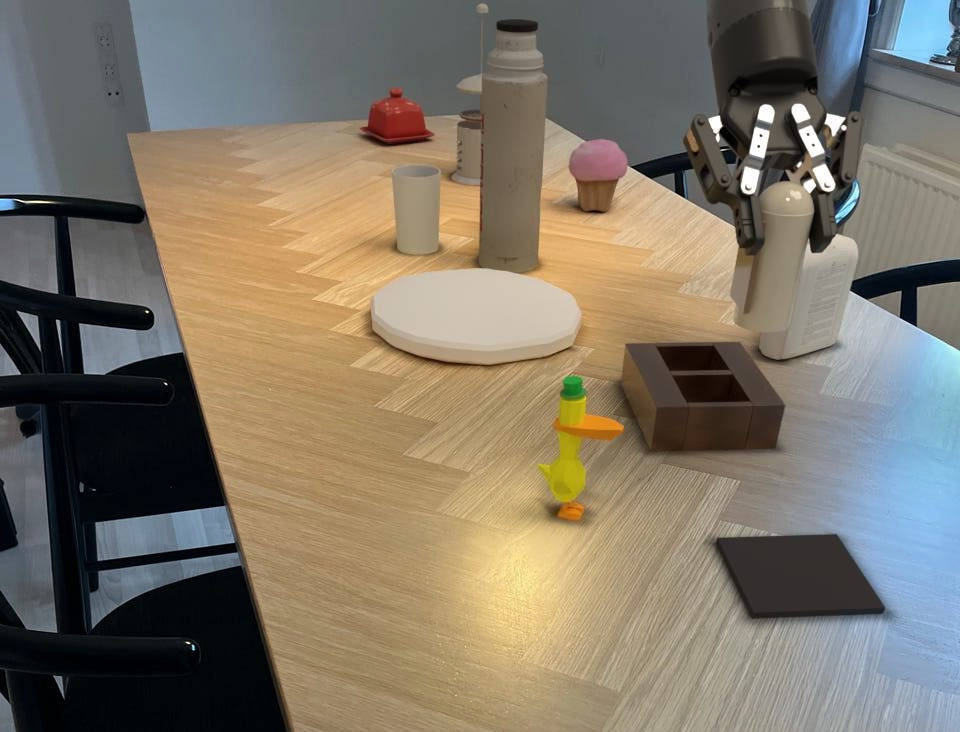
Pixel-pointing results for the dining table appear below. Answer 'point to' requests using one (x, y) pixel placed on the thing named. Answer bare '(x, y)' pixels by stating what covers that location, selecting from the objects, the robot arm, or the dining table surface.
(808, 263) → the photo printer
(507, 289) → the decorative plate
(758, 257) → the dome-topped cream cylinder
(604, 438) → the toy figure
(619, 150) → the cupcake
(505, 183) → the thermos bottle
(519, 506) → the dining table surface
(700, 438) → the box
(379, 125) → the butter dish
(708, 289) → the dining table surface
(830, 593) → the mat
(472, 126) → the french press
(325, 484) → the dining table surface
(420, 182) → the drinking glass
